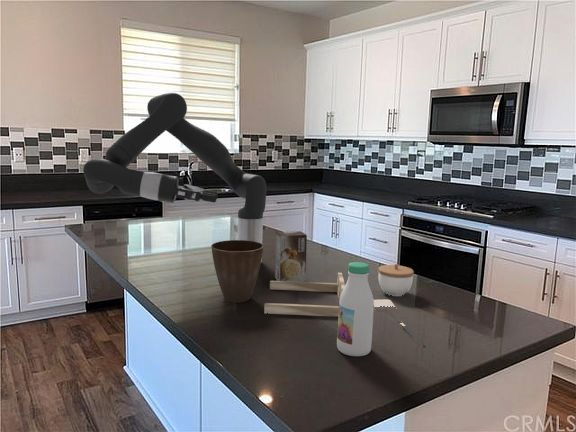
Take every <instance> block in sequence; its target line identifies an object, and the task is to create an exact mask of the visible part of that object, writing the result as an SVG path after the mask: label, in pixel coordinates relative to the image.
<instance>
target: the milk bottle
mask: <svg viewBox="0 0 576 432" xmlns="http://www.w3.org/2000/svg"><path fill="white" fill-rule="evenodd" d="M369 272H370V265H369V264H368V263H366V262H361V261H360V262H359V261H353V262H349V263H348V266H347V274H348V278H347V281H346V283H345V287H344V289H343V291H342V293H341V296H340V302H339V301H338V303H339V305H338V306H339V315H338V318H337V333H336V334H337V335H336V347H337V350H338V351H339V352H340V353H342V354H343V355H346V356H350V357H363V356H366V355H368V354H370V352H371V350H372V342H373V326H374V325H373V324H374V311H375V307H374V300H375V299H374V296H373V292H372V290H371V287H370V285H369V279H368V278H369V277H368V276H369V275H370V273H369Z"/></svg>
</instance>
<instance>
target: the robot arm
mask: <svg viewBox="0 0 576 432" xmlns="http://www.w3.org/2000/svg"><path fill="white" fill-rule="evenodd" d="M146 107H147V110H146V111H147V113H148V115H149V116H148V117H147V118H145V119H144V120H143V121H141V122H140V123H139V124H137V125H136V126H134V127H133V128H131V129H130V130H128V131H127V132H125V133H124V134H123V135H121V136H120V137H119V138H118V139H117V140H116V141H115V142H114V143H113V144H112V145H111V146H110V147H109V148H108V149H107V151H105V159H104V158H94V159H93V158H92V159H89V160H88V161H86V162H85V164H84V165H83V169H82V170H83V175H84V179H85V182H86V185H87V188H88V190H89V191H91V192H92V193H93V194H98V195H100V194H105V193H107V192H109V191H110V190H112V189H113V188H114V187H115V186H116V187H117V188H118V190H120V192H122V193H123V194H126V195H130V196H136V197H142V198H145V199H149V200H153V201H157V202H158V201H159V202H165V203H172V204H173V203H175V202H176V199H177V198H178V199H181V200H188V201H192V202H193V201H196V202H202V201H203V202H208V203H209V202H211V203H216V202H217V200H218V196H219V193H218V191H212V190H206V189H205V188H203V187H199V186H196V185H195V186H194V185H190V184H187V183H186V184H183V186H182V185H179V181H180V178H179V177H178V176H175V175H170V174H164V173H158V172H153V171H151V172H150V171H143V170H139V169H138V170H137V169H132V168H128V167H129V166H130V165H131V164H132V163H133V162H134V160H136V159H137V158H138V157H139V156H140V154H142V153H143V152H144V150H146V149H147V148H148V147H149V146H150V145H151V144H152V143H154V141H155V140H156V139H158V138H159V136H161V135H162V134H164V133H165V132H168V133H169V134H170V135H172V136H173V137H174V138H176V139H177V140H178V141H179V142H180V143H181V144H182V145H183V146H184V147H186V149H188V150H189V151H190V152H192V153H193V155H195V156H196V157H197V158H198V159H199V160H200V161H201V162H202V163H203V164H204V165H206V167H208V168H209V169H210V170H211V171H212V172H214V173H215V174H216V175H217V176H219V177H220V178H221V179H222V180H223V181H225V183H226V184H227V185H228V186H229V187H230V189H231V190H233V192H234V194H236V195H237V196H238V197H240V198H241V199H245V201H244V206H243V207H242V208H239V209H238V211H237V240H248V241H255V242H259V243H261V244H263V223H264V221H263V220H264V219H263V218H264V212H265V209H266V203H267V202H266V201H267V183H266V180H265V178H264V177H263V176H261V175H258V174H252V173H247V172H245V171H244V170H243V169H241V168H240V167H239V166H238V165H237V164H236V163H235V162H234V161H233V158H232V156H231V153H230V152H229V149H228V148H227V146H226V145H225V144H224V143H222V142H221V140H220V139H218V138H217V137H216V136H215V135H213V134H212V133H210V132H209V131H207V130H205V129H203V128H201V127H199V126H197V125H195V124H193V123H191V122H189V121H188V120H187V119H185V116H186V115H187V111H188V105H187V100H185V98H184V97H183V96H182V95H181V94H179V93H177V92H166V93H163V94H160V95H156V96H154V97H152V98H150V100H149V101H148V102H147V106H146ZM262 262H263V260H262V259H261V263H262Z"/></svg>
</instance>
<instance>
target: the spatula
mask: <svg viewBox="0 0 576 432" xmlns="http://www.w3.org/2000/svg"><path fill="white" fill-rule="evenodd" d="M373 300H374V308H375V307H380V306H382V307H383V306H385V307H387V306H388V307H390V306H391V307H392V306H393V307H396V306H395V304H394V303H393V302H392V300H391V299H373ZM399 325H401V326H402V328H403V329H404V330H405V331H406V333H407V334H408V333H409V334H410V335H411V336H412V337H413V338H415V339H416V340H417V341H418V342H420V343H421V341H422V340H421V339H420V338H419V337H418V335H416V333H415V332H414V331H413V330H412V329H411V328H410V327H409V326H408V325H406V324H404V323H403V322H402V323H399ZM409 334H408V335H409ZM410 335H409V336H410ZM411 336H410V337H411ZM412 337H411V338H412ZM413 338H412V339H413ZM420 340H421V341H420Z"/></svg>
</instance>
